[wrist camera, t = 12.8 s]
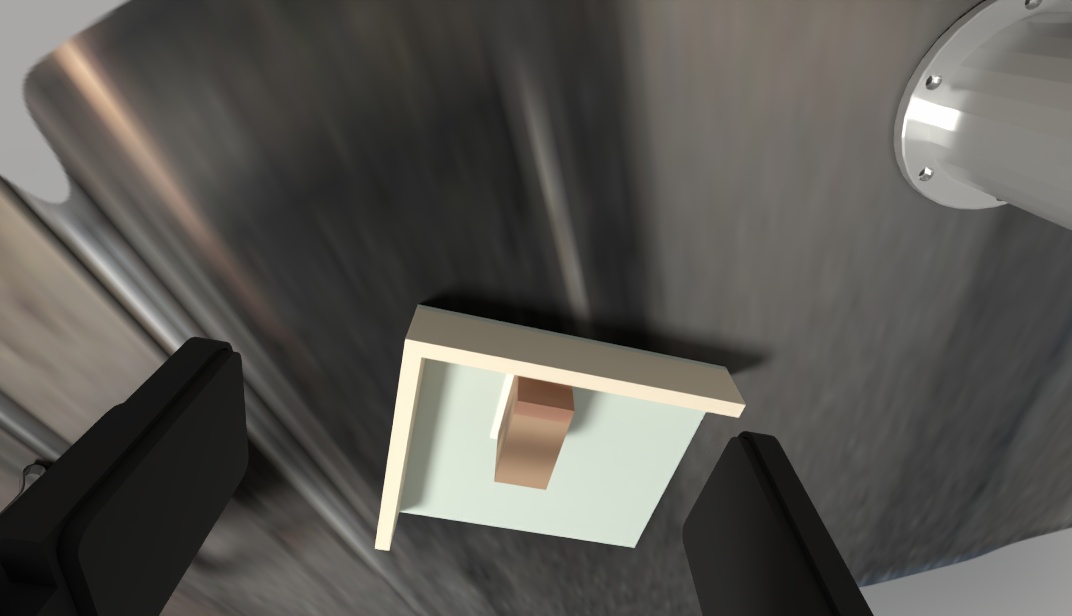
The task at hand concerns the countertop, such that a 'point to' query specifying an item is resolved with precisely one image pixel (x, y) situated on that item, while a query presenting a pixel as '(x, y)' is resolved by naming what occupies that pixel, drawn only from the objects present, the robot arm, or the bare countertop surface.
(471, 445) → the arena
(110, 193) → the countertop surface
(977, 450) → the countertop surface
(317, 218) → the countertop surface
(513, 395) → the copper block
